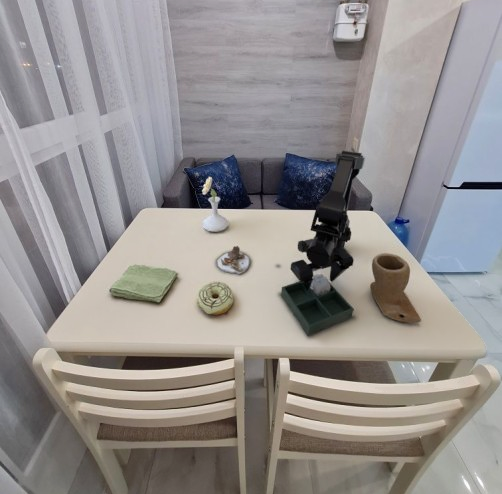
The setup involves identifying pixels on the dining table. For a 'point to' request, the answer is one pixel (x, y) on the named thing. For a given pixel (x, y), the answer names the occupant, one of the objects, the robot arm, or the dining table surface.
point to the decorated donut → (217, 304)
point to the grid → (316, 307)
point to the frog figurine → (234, 261)
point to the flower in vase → (213, 211)
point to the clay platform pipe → (392, 287)
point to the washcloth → (144, 283)
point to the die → (320, 285)
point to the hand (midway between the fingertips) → (318, 285)
